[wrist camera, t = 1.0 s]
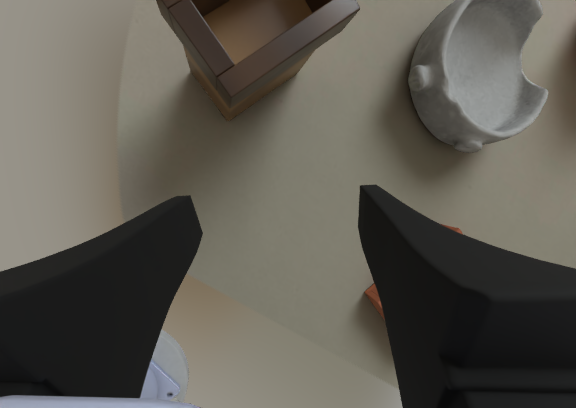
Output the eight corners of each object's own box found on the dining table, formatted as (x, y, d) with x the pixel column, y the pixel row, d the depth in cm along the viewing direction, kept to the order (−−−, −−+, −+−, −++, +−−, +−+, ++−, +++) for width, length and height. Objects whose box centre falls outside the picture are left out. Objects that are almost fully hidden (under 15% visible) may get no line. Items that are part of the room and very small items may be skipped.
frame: (229, 109, 16) (231, 98, 13) (160, 14, 14) (149, -17, 12) (342, 31, 17) (361, 8, 15) (288, -64, 15) (300, -106, 13)
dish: (478, -12, 28) (532, -51, 23) (520, 106, 31) (576, 93, 26) (374, 53, 26) (410, 25, 21) (431, 173, 29) (473, 173, 24)
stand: (227, 122, 23) (231, 97, 16) (190, 70, 22) (174, 18, 14) (298, 72, 24) (332, 27, 17) (266, 20, 23) (287, -52, 16)
